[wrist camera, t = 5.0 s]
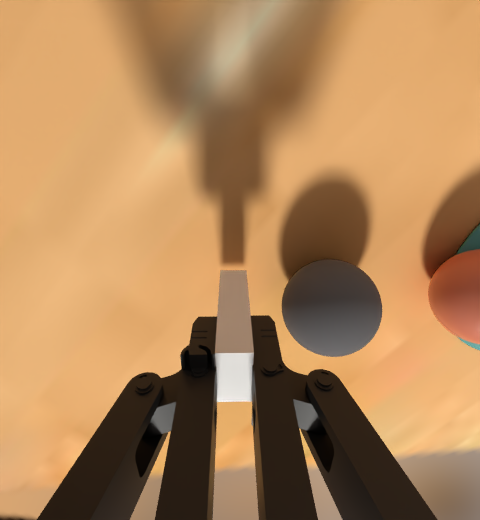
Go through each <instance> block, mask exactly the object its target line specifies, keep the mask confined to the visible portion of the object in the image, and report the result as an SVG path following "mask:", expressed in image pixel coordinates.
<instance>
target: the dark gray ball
mask: <svg viewBox="0 0 480 520" xmlns="http://www.w3.org/2000/svg"><path fill="white" fill-rule="evenodd" d="M282 314H283V319H284V322H285V324H286V327H287V329H288V330H289V332H290V334H291V335H292V336H293V338H294V339H295V340H296V341H297V342H298V343H299V344H300V345H302V346H303V347H304V348H306V349H308V350H310V351H312V352H314V353H316V354H319V355H323V356H330V357H339V356H345V355H349V354H352V353H354V352H356V351H358V350H360V349H362V348H363V347H364V346H366V345H367V344H368V343H369V342H370V341H371V340H372V338H373V337H374V336H375V334H376V332H377V330H378V328H379V325H380V322H381V318H382V303H381V298H380V295H379V292H378V290H377V287H376V286H375V284H374V282H373V281H372V280H371V279H370V277H369V276H368V275H367V274H366V273H365V272H364V271H362V270H361V269H359V268H358V267H356V266H354V265H353V264H350V263H348V262H345V261H341V260H334V259H326V260H319V261H315V262H312V263H310V264H308V265H306V266H304V267H302V268H301V269H300V270H298V271H297V272H296V273H295V274H294V275H293V276H292V277H291V279H290V280H289V282H288V284H287V286H286V288H285V290H284V294H283V297H282Z"/></svg>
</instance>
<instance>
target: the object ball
mask: <svg viewBox="0 0 480 520" xmlns="http://www.w3.org/2000/svg"><path fill="white" fill-rule="evenodd" d="M428 296H429V303H430V306H431V309H432V311H433V313H434V315H435V317H436V318H437V320H438V321H439V322H440V323H441V324H442V325H443V326H444V327H445V328H446V329H447V330H448V331H449V332H451V333H452V334H454V335H456V336H457V337H459V338H461V339H463V340H466V341H469V342H471V343H476V344H480V249H476V250H470V251H466V252H463V253H460V254H458V255H455V256H453V257H451V258H450V259H448V260H447V261H445V262H444V263H443V264H442V265H441V266H440V267H439V268H438V269H437V270H436V272H435V273H434V275H433V277H432V279H431V282H430V285H429V291H428Z"/></svg>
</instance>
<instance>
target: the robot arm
mask: <svg viewBox="0 0 480 520" xmlns="http://www.w3.org/2000/svg"><path fill="white" fill-rule="evenodd" d="M180 356H181V366H182V369H181V370H180V371H179V372H177V373H176V374H173V375H171V376H168V377H164V378H160V377H159V375H157V374H155V373H148V372H146V373H142V374H139V375H137V376H135V377H134V378H132V379H131V380H130V382H129V383H128V384H127V385H126V387H125V388H124V390H123V391H122V393H121V394H120V396H119V397H118V399H117V400H116V402H115V403H114V405H113V406H112V408H111V409H110V411H109V412H108V414H107V415H106V417H105V418H104V420H103V421H102V423H101V424H100V426H99V427H98V429H97V430H96V432H95V433H94V435H93V436H92V438H91V439H90V441H89V442H88V444H87V445H86V447H85V448H84V450H83V451H82V453H81V454H80V456H79V457H78V459H77V460H76V462H75V463H74V465H73V466H72V468H71V469H70V471H69V472H68V474H67V475H66V477H65V478H64V480H63V481H62V483H61V484H60V486H59V487H58V489H57V490H56V492H55V493H54V495H53V496H52V498H51V499H50V501H49V502H48V504H47V505H46V507H45V508H44V510H43V511H42V513H41V514H40V516H39V517H38V519H37V520H130V517H131V515H132V513H133V511H134V509H135V506H136V504H137V502H138V499H139V497H140V495H141V493H142V491H143V488H144V486H145V484H146V482H147V479H148V477H149V475H150V473H151V470H152V468H153V466H154V464H155V461H156V459H157V457H158V455H159V452H160V450H161V448H162V446H163V443H164V441H165V439H166V437H167V434H168V432H169V431H171V434H170V439H169V445H168V450H167V456H166V461H165V467H164V472H163V478H162V484H161V489H160V495H159V500H158V506H157V511H156V517H155V520H212V518H213V495H214V472H215V448H216V425H217V402H238V401H252V425H253V436H254V451H255V467H256V482H257V498H258V513H259V520H318V518H317V513H316V508H315V503H314V499H313V494H312V489H311V484H310V479H309V474H308V469H307V465H306V460H305V455H304V450H303V445H302V440H301V435H300V431H299V428H300V429H301V432H302V434H303V436H304V438H305V440H306V442H307V444H308V447H309V449H310V451H311V453H312V455H313V457H314V459H315V461H316V464H317V466H318V468H319V470H320V472H321V474H322V476H323V478H324V481H325V483H326V485H327V487H328V489H329V491H330V493H331V496H332V498H333V500H334V502H335V504H336V506H337V508H338V510H339V513H340V515H341V517H342V519H343V520H437V518H436V517H435V515H434V514H433V513H432V511H431V510H430V508H429V507H428V505H427V504H426V503H425V501H424V500H423V498H422V497H421V495H420V494H419V492H418V491H417V490H416V488H415V487H414V485H413V484H412V482H411V481H410V480H409V478H408V477H407V475H406V474H405V472H404V471H403V470H402V468H401V467H400V465H399V464H398V462H397V461H396V459H395V458H394V457H393V455H392V454H391V452H390V451H389V449H388V448H387V447H386V445H385V444H384V442H383V441H382V439H381V438H380V436H379V435H378V434H377V432H376V431H375V429H374V428H373V426H372V425H371V424H370V422H369V421H368V419H367V418H366V416H365V415H364V414H363V412H362V411H361V409H360V408H359V406H358V405H357V403H356V402H355V401H354V399H353V398H352V396H351V395H350V393H349V392H348V391H347V389H346V388H345V386H344V385H343V383H342V382H341V381H340V379H339V378H338V377H337V376H336V375H335V374H333V373H332V372H330V371H327V370H323V369H319V370H314V371H311V372H310V373H309V374H308V376H307V375H303V374H299V373H296V372H293V371H292V370H290V369H289V368H287V367H286V366H285V364H284V363H283V361H282V357H281V352H280V347H279V342H278V337H277V332H276V327H275V322H274V321H273V320H272V318H271V317H270V316H251V315H250V304H249V293H248V282H247V271H246V270H220V283H219V298H218V314H217V317H198V318H197V319H196V320H195V322H194V323H193V327H192V333H191V339H190V344H189V346H187V347H186V348H184V349H183V350H182V352H181V355H180Z"/></svg>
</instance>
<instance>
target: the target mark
mask: <svg viewBox="0 0 480 520" xmlns="http://www.w3.org/2000/svg"><path fill="white" fill-rule="evenodd" d="M476 249H480V224H479V225H478V226H477V227H476V228H475V229H474V230H473V232H472V233H471V234H470V235H469V236H468V237H467V239H466V240H465V242H464V243H463V244H462V246H461V247H460V248H459V250H458V252H457V254H456V255H458V254H460V253H463V252H466V251H470V250H476ZM458 338H459V337H458ZM459 339H460V340H461V341H463V342H464V343H466V344H467V345H469V346H471V347H473V348H475V349H477V350H480V344H476V343H471V342H469V341H466V340H463V339H461V338H459Z"/></svg>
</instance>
